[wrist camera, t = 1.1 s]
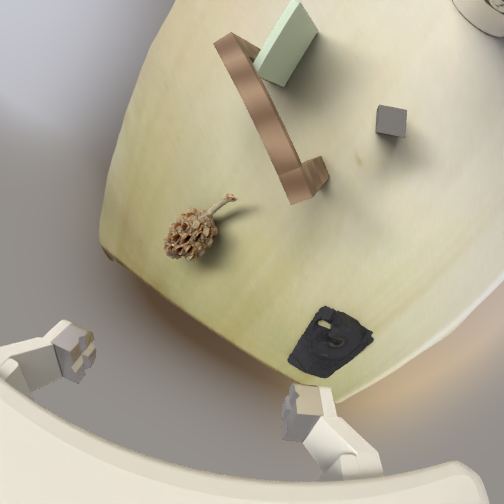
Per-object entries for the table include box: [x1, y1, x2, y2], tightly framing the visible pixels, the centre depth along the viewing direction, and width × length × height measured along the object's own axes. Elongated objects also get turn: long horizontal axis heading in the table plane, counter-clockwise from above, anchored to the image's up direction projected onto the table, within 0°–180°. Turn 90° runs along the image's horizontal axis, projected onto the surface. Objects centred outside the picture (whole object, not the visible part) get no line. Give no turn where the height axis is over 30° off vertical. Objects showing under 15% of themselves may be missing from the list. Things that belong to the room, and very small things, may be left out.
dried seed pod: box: [164, 194, 237, 262], centre depth 56 cm, size 22×10×10 cm, turn 137°
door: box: [253, 0, 318, 87], centre depth 33 cm, size 13×3×13 cm, turn 150°
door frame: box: [213, 32, 330, 205], centre depth 37 cm, size 25×3×16 cm, turn 25°
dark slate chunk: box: [288, 306, 374, 378], centre depth 60 cm, size 15×22×5 cm
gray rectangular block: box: [376, 105, 407, 138], centre depth 34 cm, size 4×4×9 cm
